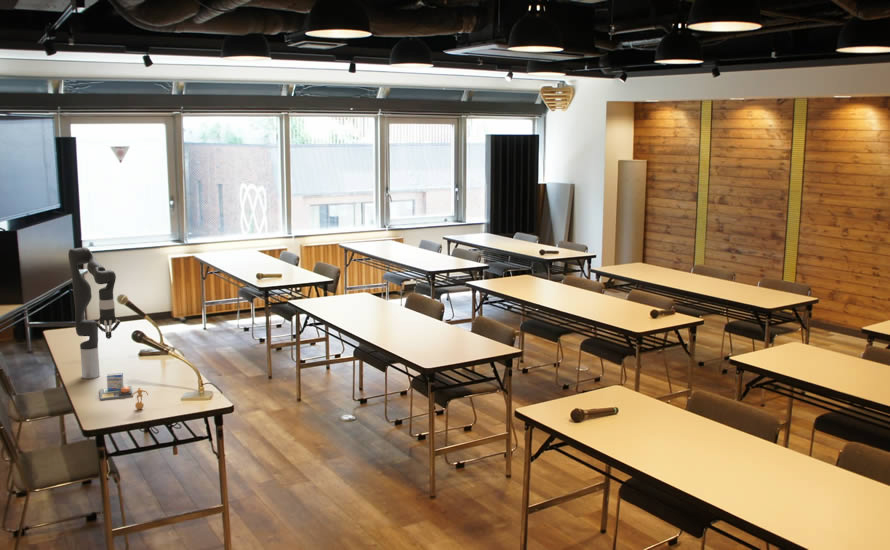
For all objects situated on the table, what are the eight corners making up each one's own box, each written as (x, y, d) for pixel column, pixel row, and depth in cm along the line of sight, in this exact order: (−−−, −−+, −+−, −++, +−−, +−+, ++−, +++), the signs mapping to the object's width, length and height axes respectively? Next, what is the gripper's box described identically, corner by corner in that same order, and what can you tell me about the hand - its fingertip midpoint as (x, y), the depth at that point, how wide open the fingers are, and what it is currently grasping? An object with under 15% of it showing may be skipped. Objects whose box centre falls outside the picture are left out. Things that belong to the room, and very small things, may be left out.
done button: (120, 390, 418) (120, 387, 418) (129, 389, 420) (129, 386, 420) (121, 393, 414) (121, 389, 414) (130, 392, 416) (129, 388, 416)
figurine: (147, 406, 401) (146, 384, 399) (150, 410, 396) (148, 387, 394) (130, 409, 396) (129, 386, 394) (132, 413, 391) (131, 390, 389)
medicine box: (107, 391, 420) (106, 375, 419) (108, 388, 424) (107, 373, 423) (123, 390, 423) (122, 374, 421) (123, 387, 427) (122, 372, 425)
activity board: (99, 390, 424) (99, 387, 424) (131, 387, 431) (131, 384, 430) (100, 400, 409) (100, 396, 409) (133, 396, 416) (132, 393, 415)
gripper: (93, 309, 413) (95, 341, 416) (120, 307, 418) (122, 339, 421) (93, 306, 419) (95, 338, 422) (119, 305, 425) (121, 335, 428)
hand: (108, 338), depth 422 cm, fingers closed
